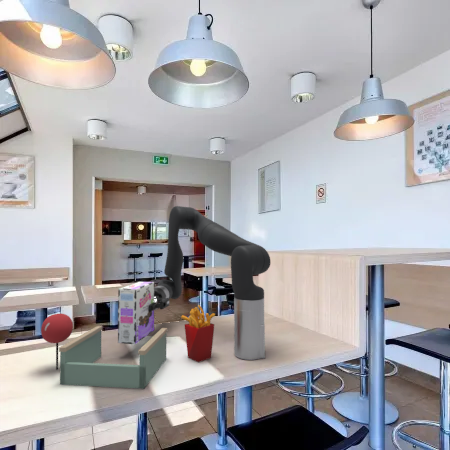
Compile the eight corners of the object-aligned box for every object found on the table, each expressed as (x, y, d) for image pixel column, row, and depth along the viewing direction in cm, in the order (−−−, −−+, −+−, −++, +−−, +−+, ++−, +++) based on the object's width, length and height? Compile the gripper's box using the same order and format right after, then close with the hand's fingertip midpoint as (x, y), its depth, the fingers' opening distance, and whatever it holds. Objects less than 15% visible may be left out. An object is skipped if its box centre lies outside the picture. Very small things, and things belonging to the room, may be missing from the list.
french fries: (215, 357, 93) (215, 307, 94) (193, 365, 88) (193, 311, 88) (196, 350, 100) (196, 302, 100) (175, 357, 94) (175, 306, 94)
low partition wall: (167, 358, 93) (167, 328, 93) (144, 389, 74) (144, 350, 75) (97, 355, 95) (97, 325, 95) (58, 384, 77) (59, 347, 77)
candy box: (135, 345, 92) (135, 288, 92) (117, 343, 93) (117, 288, 93) (155, 330, 105) (154, 281, 106) (138, 329, 106) (138, 280, 107)
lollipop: (42, 366, 88) (43, 312, 88) (72, 361, 91) (73, 309, 91) (38, 377, 81) (39, 318, 81) (71, 372, 84) (72, 315, 84)
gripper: (138, 286, 118) (118, 296, 102) (175, 287, 117) (161, 297, 100) (138, 306, 118) (118, 319, 101) (175, 307, 117) (161, 320, 100)
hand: (139, 308), depth 101 cm, fingers closed on candy box, 6 cm apart
